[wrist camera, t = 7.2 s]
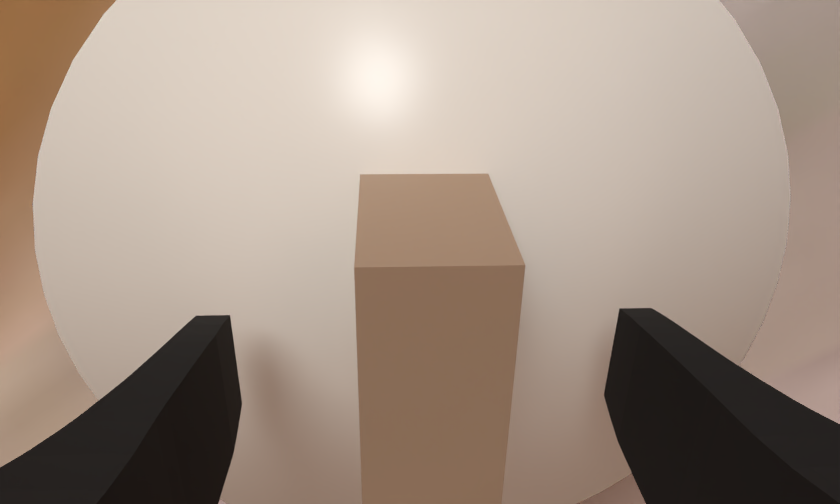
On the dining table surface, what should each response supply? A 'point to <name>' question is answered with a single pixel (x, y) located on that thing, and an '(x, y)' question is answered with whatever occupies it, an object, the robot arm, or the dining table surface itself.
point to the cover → (411, 224)
